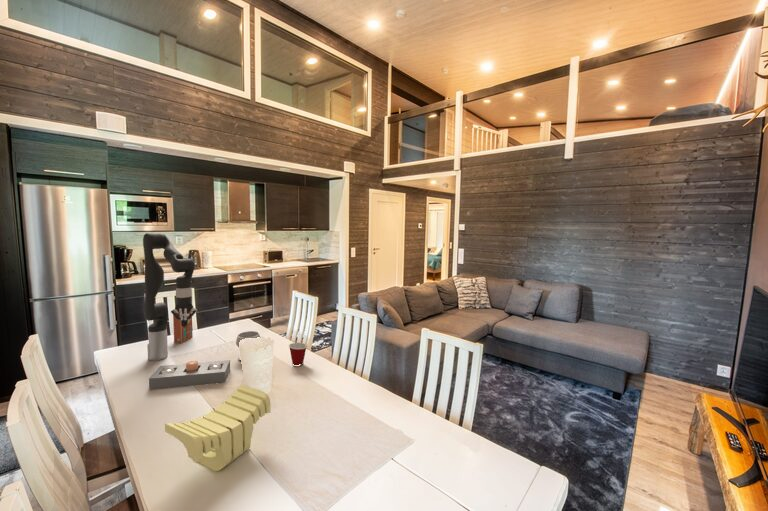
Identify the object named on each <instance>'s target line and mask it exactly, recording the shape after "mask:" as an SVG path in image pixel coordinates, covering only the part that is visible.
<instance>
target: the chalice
mask: <svg viewBox="0 0 768 511" xmlns="http://www.w3.org/2000/svg"><path fill="white" fill-rule="evenodd" d="M257 337H260V338H261V336H260V333H259V332H258V331H251V330H250V331H244V332H241V333H239V334H238V335H237V337H236V341H235V345H236V346H237V347H238V348H239V342H240V340H242V339H245V338H257ZM237 361H240V356H238V358H237ZM240 362H241V361H240Z"/></svg>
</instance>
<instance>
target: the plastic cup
mask: <svg viewBox="0 0 768 511" xmlns="http://www.w3.org/2000/svg"><path fill="white" fill-rule="evenodd" d="M288 348H289V351H290V357H291V362H292V365H293V364H294V365H299V364H302V363H303V364H304V360H305V356H306V351H307V348H308V344H306V343H304V342H292V343H290V344H288Z"/></svg>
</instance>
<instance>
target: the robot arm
mask: <svg viewBox="0 0 768 511" xmlns="http://www.w3.org/2000/svg"><path fill="white" fill-rule="evenodd" d="M142 245H143V254H144V301H143V302H144V304H143V316H144V318H145V320H146V321H148V322H149V321H154V320H155V321H154V322H153V323H151V324H149V325H148V327H147V330H148V331H147V334H148V336H147V337H148V343H147V360H148V361H161V360H165V359H166V358H168V356H169V350H168V347H169V345H168V323H169V321H168V320H169V309H168V306H167V304H166V303H165V302H158V303H157V302H156V297H157V295H158V293H159V292H160V291H161V289H162V287H163V285H164V283H165V272H164V269H163V267H162V266H161V265H160V263H159V262H158V261H157V260H156V258H155V256H154V251H153V250H157V249H158V250H161V249H163V257H164V258H165V260H166V261H168V263H169V264H170V266H171V269H172V271H173V272H175V273H178V274H179V273H184V274H182V275H180V276H178V277H176V280H175V308H174V309H172V310H171V311H170V313H171V314H172V316H173V315H174V316H175V317H176V318H177V319H180V320H181V325H182V326H183V327H186V326H187V325H188V319H190V318H191V317H192V318H193V316H194V315H195V314H196V313H197V312H198V309H197V308H195V307H194V305H193V289H192V278H193V275H194V271H195V266H196V265H195V262H194V260H193V259H192V258H184V256H183V254H182V253H180V252H179V250H177V249H176V248H175V247H174V245H173V244H172V242H171V241H170V239H169V238H168V237H167V235H166V234H165V233H162V232H149V233H147V232H146V233H145V234H144V235H143V238H142ZM155 302H156V303H155ZM191 310H192V313H191V315H190V316H188V315H189V312H190V311H191ZM177 311H178V312H179V313H180V315H179V314H178V313H177Z"/></svg>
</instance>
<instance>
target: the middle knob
mask: <svg viewBox="0 0 768 511" xmlns="http://www.w3.org/2000/svg"><path fill="white" fill-rule="evenodd" d="M198 363H199V361H198V360H197V361H196V360H191V361H188V362H186V363H185V364H186V372H191V371H198Z"/></svg>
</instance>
